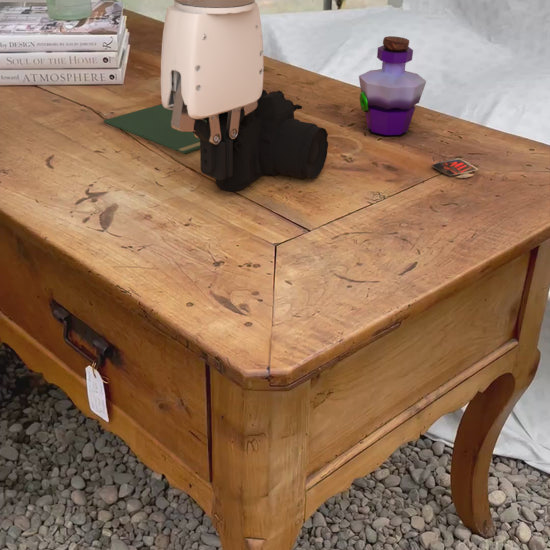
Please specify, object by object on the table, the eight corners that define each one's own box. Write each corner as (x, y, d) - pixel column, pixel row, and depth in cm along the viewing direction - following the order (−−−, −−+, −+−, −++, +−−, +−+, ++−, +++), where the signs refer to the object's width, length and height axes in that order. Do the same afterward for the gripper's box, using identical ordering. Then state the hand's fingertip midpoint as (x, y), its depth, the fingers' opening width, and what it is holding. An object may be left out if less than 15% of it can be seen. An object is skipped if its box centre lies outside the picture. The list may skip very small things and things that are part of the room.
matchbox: (427, 168, 91) (428, 164, 91) (455, 158, 94) (456, 155, 94) (458, 181, 88) (459, 177, 88) (486, 171, 91) (487, 167, 91)
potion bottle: (341, 125, 104) (347, 34, 98) (390, 115, 108) (399, 27, 102) (383, 145, 98) (393, 49, 92) (433, 134, 102) (446, 41, 96)
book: (185, 154, 94) (185, 151, 93) (103, 122, 103) (103, 119, 103) (284, 120, 105) (284, 118, 105) (203, 94, 114) (203, 92, 114)
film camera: (283, 207, 81) (286, 124, 77) (204, 187, 85) (203, 108, 81) (341, 160, 93) (346, 86, 88) (270, 145, 97) (271, 74, 92)
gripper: (243, -25, 79) (242, 147, 88) (123, -7, 69) (136, 184, 78) (298, -14, 74) (291, 166, 83) (179, 6, 65) (186, 207, 74)
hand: (216, 174), depth 81 cm, fingers closed
